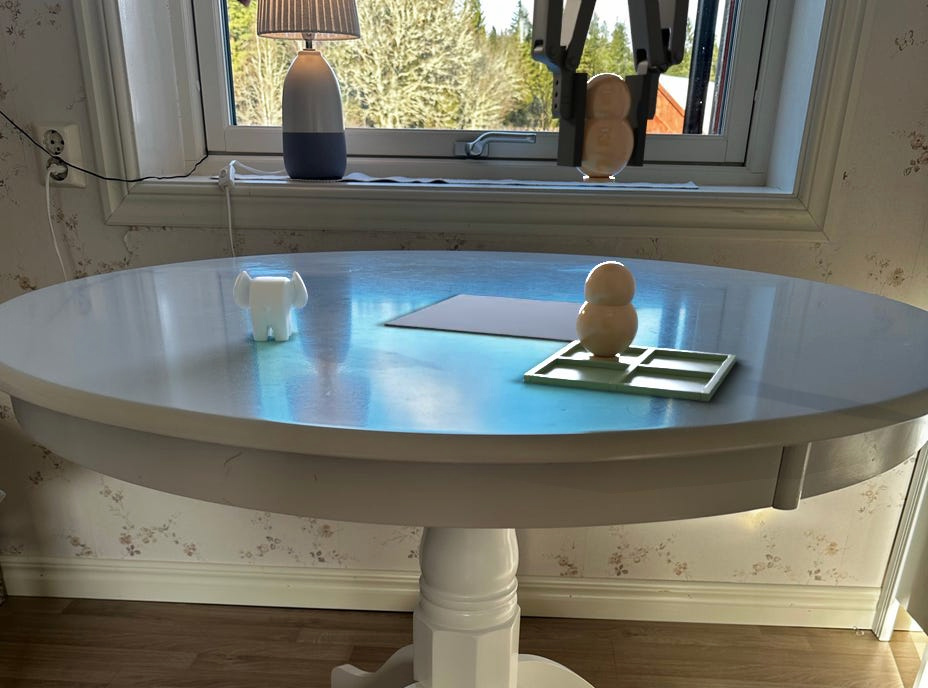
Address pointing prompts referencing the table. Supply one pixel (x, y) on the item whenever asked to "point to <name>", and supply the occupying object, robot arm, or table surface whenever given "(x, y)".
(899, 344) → the table surface
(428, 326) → the mat
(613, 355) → the snowman figurine
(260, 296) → the elephant figurine
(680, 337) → the table surface
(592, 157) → the tan snowman shaped figurine
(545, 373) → the green divided tray
